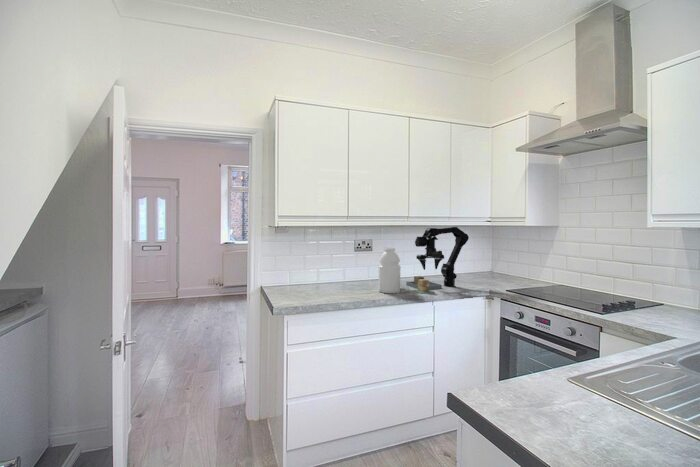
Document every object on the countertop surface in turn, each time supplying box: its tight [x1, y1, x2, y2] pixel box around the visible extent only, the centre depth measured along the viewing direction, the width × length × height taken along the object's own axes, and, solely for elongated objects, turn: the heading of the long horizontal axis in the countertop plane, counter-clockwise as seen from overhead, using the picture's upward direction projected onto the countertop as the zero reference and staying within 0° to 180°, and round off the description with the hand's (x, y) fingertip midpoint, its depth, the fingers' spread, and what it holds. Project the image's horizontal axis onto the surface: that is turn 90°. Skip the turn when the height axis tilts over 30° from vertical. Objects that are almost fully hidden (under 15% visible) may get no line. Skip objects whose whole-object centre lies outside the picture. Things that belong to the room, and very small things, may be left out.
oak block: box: [417, 278, 430, 292], centre depth 212 cm, size 5×5×7 cm
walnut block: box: [413, 275, 425, 285], centre depth 234 cm, size 5×5×6 cm
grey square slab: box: [406, 280, 443, 290], centre depth 229 cm, size 16×18×3 cm
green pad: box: [412, 289, 436, 295], centre depth 212 cm, size 10×10×1 cm
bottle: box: [378, 247, 401, 294], centre depth 215 cm, size 14×14×28 cm
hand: (430, 269), depth 228 cm, fingers open, 9 cm apart
